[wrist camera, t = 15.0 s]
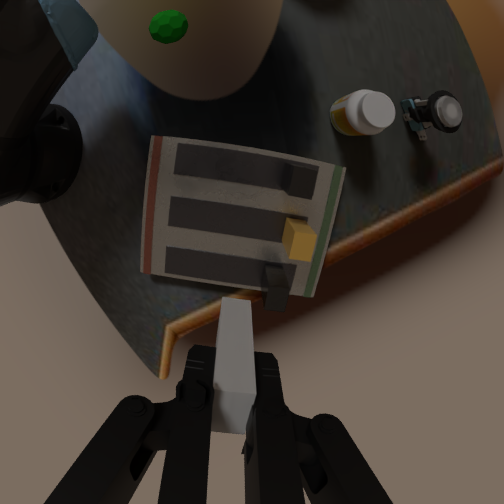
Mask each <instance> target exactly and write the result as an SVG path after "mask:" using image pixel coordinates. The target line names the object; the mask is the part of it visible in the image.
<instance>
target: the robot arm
mask: <svg viewBox="0 0 504 504" xmlns="http://www.w3.org/2000/svg"><path fill="white" fill-rule="evenodd" d="M97 37H98V27H97V24H96V23H95V21H94V20H93V19H92V18H91V16H90V15H89V14H88V13H87V12H86V11H85V9H84V8H83V7H82V6H81V5H80V4H79V3H78V2H77V1H76V0H0V206H3V205H5V204H8V203H10V202H13V201H23V202H29V203H44V202H47V201H50V200H53V199H55V198H57V197H59V196H60V195H62V194H63V193H64V192H65V191H66V190H67V189H68V188H69V187H70V185H71V184H72V182H73V180H74V179H75V176H76V174H77V172H78V169H79V165H80V161H81V155H82V139H81V133H80V129H79V126H78V124H77V121H76V120H75V118H74V116H73V115H72V114H71V113H70V112H69V111H68V110H67V109H66V108H64V107H62V106H60V105H56V104H49V103H50V102H51V101H52V99H53V98H54V96H55V95H56V93H57V92H58V91H59V89H60V88H61V86H62V85H63V84H64V82H65V81H66V80H67V78H68V77H69V76H70V75H71V73H72V72H73V71H75V70H76V69H77V67H78V64H79V62H80V61H81V60H82V58H83V57H84V56H85V55H86V53H87V52H88V51H89V49H90V48H91V47H92V46H93V45H94V43H95V42H96V40H97ZM245 430H246V440H245V443H244V446H243V449H242V453H241V454H244V461H245V462H244V463H245V464H244V466H245V504H305V499H304V492H303V488H304V490H305V492H306V494H307V496H308V498H309V500H310V502H311V504H393V503H392V501H391V500H390V498H389V497H388V495H387V493H386V492H385V490H384V489H383V487H382V485H381V484H380V483H379V481H378V479H377V478H376V476H375V474H374V473H373V471H372V470H371V468H370V467H369V465H368V463H367V462H366V460H365V459H364V457H363V455H362V454H361V452H360V451H359V449H358V448H357V446H356V444H355V443H354V441H353V440H352V438H351V436H350V435H349V433H348V432H347V430H346V428H345V427H344V425H343V424H342V422H341V421H340V420H339V419H338V418H337V417H335V416H333V415H330V414H319V415H316V416H314V417H313V419H310V418H306V417H302V416H299V415H296V414H294V413H293V412H291V411H290V410H289V408H288V407H287V406H286V405H285V403H284V399H283V392H282V386H281V379H280V373H279V367H278V361H277V359H276V358H275V357H274V355H273V354H272V353H264V352H254V349H253V333H252V314H251V301H249V300H241V299H234V298H227V297H222V304H221V311H220V318H219V325H218V332H217V339H216V347H209V346H202V345H194V346H193V347H192V348H191V349H190V350H189V352H188V356H187V361H186V365H185V370H184V374H183V379H182V380H181V381H179V382H178V384H177V386H176V398H174V399H173V400H171V401H168V402H163V403H152V402H151V401H150V400H149V399H147V398H146V397H143V396H139V395H131V396H128V397H125V398H124V399H123V400H121V401H120V403H119V404H118V405H117V407H116V408H115V409H114V410H113V412H112V413H111V414H110V416H109V417H108V418H107V420H106V421H105V422H104V423H103V425H102V426H101V428H100V429H99V430H98V431H97V433H96V434H95V436H94V437H93V438H92V439H91V441H90V442H89V443H88V445H87V446H86V447H85V449H84V450H83V451H82V453H81V454H80V455H79V457H78V458H77V459H76V461H75V462H74V463H73V465H72V466H71V467H70V469H69V470H68V471H67V473H66V474H65V476H64V477H63V478H62V480H61V481H60V482H59V484H58V485H57V486H56V488H55V489H54V491H53V492H52V493H51V495H50V496H49V497H48V499H47V500H46V501H45V503H44V504H128V503H129V501H130V499H131V498H132V496H133V494H134V492H135V491H136V489H137V487H138V485H139V483H140V482H141V480H142V478H143V476H144V474H145V473H146V471H147V469H148V467H149V465H150V464H151V462H152V460H153V458H154V456H155V455H156V453H157V451H159V450H167V451H166V457H165V462H164V467H163V473H162V479H161V486H160V492H159V499H158V504H206V499H207V481H208V480H207V479H208V465H209V449H210V434H211V431H214V432H223V433H233V434H245Z"/></svg>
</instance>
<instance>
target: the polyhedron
mask: <svg viewBox="0 0 504 504" xmlns="http://www.w3.org/2000/svg"><path fill="white" fill-rule="evenodd" d="M187 28H188V22H187V19H186V17H185V15H184V14H182V13H180V12H178V11H175V10H167V11H163V12H159V13H158V14H157V15H155V16H154V17H153V18H152V20H151V23H150V26H149V31H150V34H151V36H152V38H153V39H154V40H156V41H159V42H161V43H165V44H168V43H173V42H176V41H178V40H180V39H181V38H182V37H183V36H184V34H185V33H186V31H187Z"/></svg>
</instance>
